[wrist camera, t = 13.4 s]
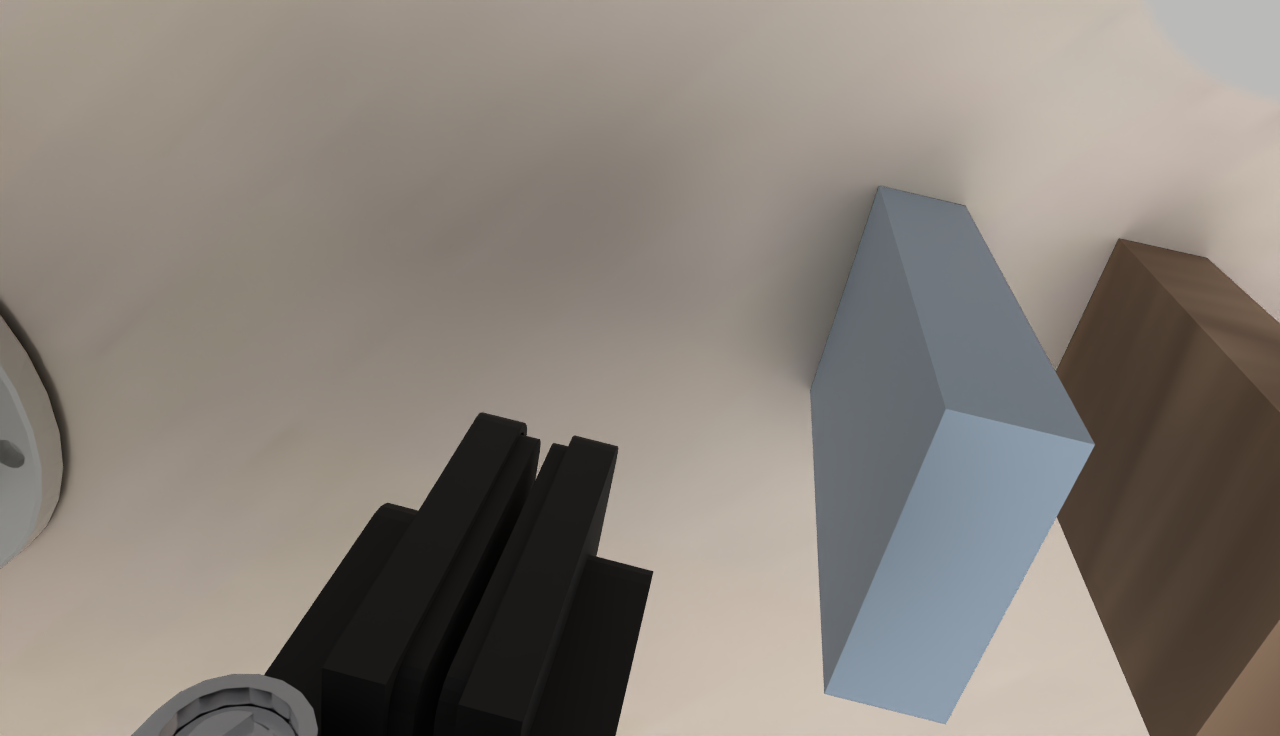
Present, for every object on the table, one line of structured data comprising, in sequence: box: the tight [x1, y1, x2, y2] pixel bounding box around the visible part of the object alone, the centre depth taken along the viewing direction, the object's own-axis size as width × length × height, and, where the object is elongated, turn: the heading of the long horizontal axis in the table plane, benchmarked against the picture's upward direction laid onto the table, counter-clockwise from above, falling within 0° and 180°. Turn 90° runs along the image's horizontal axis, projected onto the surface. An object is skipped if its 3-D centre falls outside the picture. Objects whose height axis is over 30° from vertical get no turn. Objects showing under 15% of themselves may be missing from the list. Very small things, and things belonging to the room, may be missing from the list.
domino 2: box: [1056, 239, 1280, 736], centre depth 16 cm, size 2×5×9 cm, turn 169°
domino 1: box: [810, 186, 1095, 724], centre depth 16 cm, size 2×5×9 cm, turn 169°
